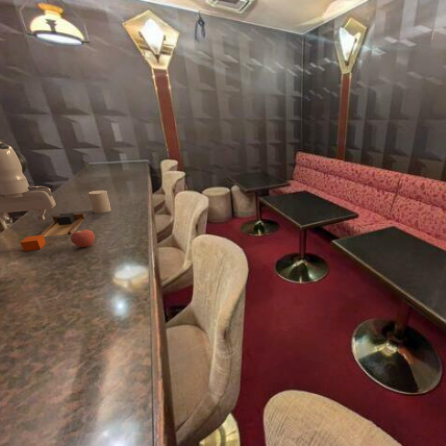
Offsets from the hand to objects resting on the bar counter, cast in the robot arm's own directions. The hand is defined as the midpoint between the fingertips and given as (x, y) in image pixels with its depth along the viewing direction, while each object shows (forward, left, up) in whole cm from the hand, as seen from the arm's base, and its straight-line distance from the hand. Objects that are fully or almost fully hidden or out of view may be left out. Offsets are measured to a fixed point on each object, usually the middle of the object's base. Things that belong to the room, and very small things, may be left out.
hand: (26, 221), depth 98 cm
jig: (+4, +20, -12) cm, 23 cm away
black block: (+4, +27, -11) cm, 29 cm away
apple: (+18, -7, -12) cm, 22 cm away
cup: (+16, +43, -12) cm, 47 cm away
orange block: (0, 0, -12) cm, 12 cm away
